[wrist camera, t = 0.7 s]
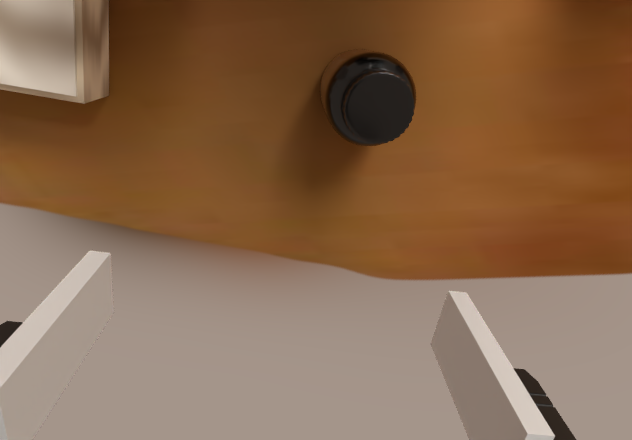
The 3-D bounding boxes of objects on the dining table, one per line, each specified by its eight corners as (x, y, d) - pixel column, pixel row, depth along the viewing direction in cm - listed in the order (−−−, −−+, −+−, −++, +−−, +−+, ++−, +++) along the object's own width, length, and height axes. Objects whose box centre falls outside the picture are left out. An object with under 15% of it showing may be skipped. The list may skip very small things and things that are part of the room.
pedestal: (-38, -74, 34) (-94, -92, 29) (108, -44, 35) (78, -56, 30) (-21, 73, 38) (-68, 78, 33) (109, 95, 39) (82, 104, 34)
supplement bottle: (408, 80, 40) (451, 97, 29) (362, 140, 42) (386, 177, 31) (350, 32, 38) (372, 30, 27) (304, 97, 40) (307, 120, 29)
